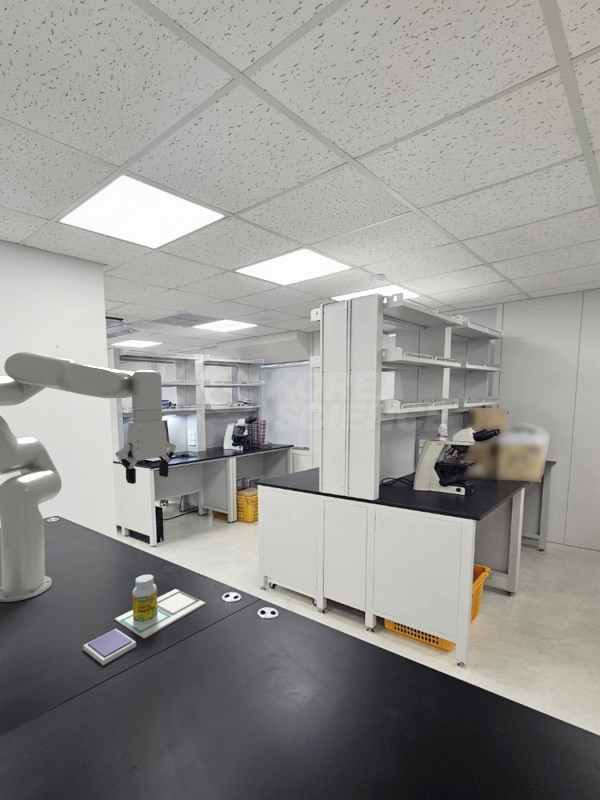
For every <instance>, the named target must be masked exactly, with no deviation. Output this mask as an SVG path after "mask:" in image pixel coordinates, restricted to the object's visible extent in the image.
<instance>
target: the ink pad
mask: <svg viewBox="0 0 600 800" xmlns="http://www.w3.org/2000/svg"><path fill="white" fill-rule="evenodd" d="M136 647H137V642H136V641H135V639H132V638H131V637H129V635H126V633H123V632H122V631H121V630H119V629H117V628H114V629H112V630H111V631H109V632H106V633H104V634H103V635H101V636H98V637H97V638H94V639H92V640H91V641H89V642H87V643H85V644H83V651H85V653H87V654H88V655H89V656H91V657H92V658H93V659H95V660H96V661H97V662H98V663H100V665H102V666H104V665H106V664H108V663H111V662H112V661H113V660H115V659H117V658H118V657H120V656H122V655H124V654H125V653H128V652H130V651H131V650H133V649H134V648H136Z"/></svg>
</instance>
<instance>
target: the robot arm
mask: <svg viewBox="0 0 600 800" xmlns="http://www.w3.org/2000/svg"><path fill="white" fill-rule="evenodd" d="M3 366H4V367H3V368H4V371H5V374H6V375H0V407H1V406H2V407H6V406H17V405H19V404H22V403H24V402H26V401H29V399H30V398H33V397H34V396H36V395H37V394H38V393H41V392H42V391H43V390H45V389H46V388H47V389H53V390H58V391H64V392H69V393H73V394H77V395H84V396H89V397H95V398H101V399H128V398H131V415H132V416H131V417H132V418H131V421H129V423H128V426H127V431H126V438H125V446H124V447H122V448H120V449H118V451H116V452H115V457H116V459H117V460H118V462H119V464H121V466H123V467H124V468H125V480H126V482H127V483H128V484H133V485H134V484H136V483H137V478H136V477H137V475H136V474H137V470H136V467H135V466H136V464H137V463H138V461H143V460H149V459H156V458H158V459H159V460H160V461H159V462H158V466H159V467H158V469H159V470H158V471H159V473H158V475H159V476H160V477H164V478H168V477H169V463H170V462H171V459H172V458H173V457H174V453H175V450H176V448H177V445H175V444H174V443H171V442H170V441H168V437H167V436H168V435H167V429H166V425H165V424H166V423H165V421H164V420H163V417H165V416H166V411H163V399H162V398H163V393H162V391H163V390H162V388H163V387H162V385H163V383H162V374H161V373H160V372H159V371H156V370H136V371H129V370H121V369H113V368H112V369H111V368H106V367H105V368H104V367H97V366H92V365H86V364H80V363H78V362H77V363H76V362H75V360H72V359H69V358H68V359H67V358H62V357H56V356H49V355H46V354H41V353H40V354H39V353H33V352H25V351H24V352H22V351H20V352H16V353H14V354H11V355H10V356H8V358H6V360H5V361H4V365H3ZM17 472H20V473H19V474H18V475H14V476H12V477H9V478H8V479H6V480H4V482H2V483H1V484H0V543H1V586H0V602H3V603H5V602H6V603H7V602H8V603H10V602H13V603H14V602H18V601H23V600H24V601H25V600H27V599H30V598H34V597H36V596H38V595H41V594H42V593H44V592H45V591H47V590H48V589H49V588H50V587H51V585H52V584H53V583H52V581H53V580H52V578H51V577H50V576H47V575H46V573H45V569H46V568H45V567H46V566H45V562H46V561H45V525H44V523H45V522H44V518H43V517H44V516H42V513H41V511H40V508H39V505H41V504H43V503H46V502H48V501H50V500H52V499H54V498H55V497H57V496H58V494H59V493H60V491H61V489H62V477H61V475H60V473H59V471H58V469H57V468H56V466H55V463H54V461H53V459H52V458H51V456H50V454H49V452H48V451H47V449H46V447H45V445H44V444H43V443H42V442H41V441H40V440H38V439H37V438H35V437H32V436H25V435H24V436H18V437H17V436H15V435H14V434H13V432H12V429H11V428H10V426H9V424H8V422H7V421H6V420H5V419H4V418H3V416H1V415H0V476H1V475H3V476H4V475H8V474H13V473H17Z"/></svg>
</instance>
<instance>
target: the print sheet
mask: <svg viewBox="0 0 600 800" xmlns="http://www.w3.org/2000/svg"><path fill="white" fill-rule="evenodd" d="M204 605H206V602H205V601H202V600H201V599H198V598H197V597H194V596H192V595H189V594H188V593H185V592H184V591H181V590H179V589H177V588H174V589H172V590H171V591H169V592H166V593H164V594H162V595H160V596H157V617H156V618H155V619H154V620H153V621H151V622H149V623H146V624H137V623H135V622H134V620H133V609H132V610H129V611H127V612H125V613H124V614H123V613H122V614H121V615H119V616H117V617H115V618H114V621H116V622H118V623H119V624H120V625H122V626H123V627H126V628H127V629H128V630H129V631H131V632H133V633H134V634H136V635H138V636H140V637H141V638H142V639H146V638H148V637H150V636H151V635H153V634H155V633H157V632H158V631H161V630H162V629H164V628H166V627H167V626H169V625H170V624H173V623H174V622H176V621H178V620H180V619H181V618H183V617H185V616H186V615H189V614H190V613H192V612H194V611H196V610H197V609H199V608H201V607H203V606H204Z"/></svg>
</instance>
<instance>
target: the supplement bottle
mask: <svg viewBox="0 0 600 800" xmlns="http://www.w3.org/2000/svg"><path fill="white" fill-rule="evenodd" d="M154 581H155V579H154V575H152V574H143V575H140V576H138V577H136V578H135V581H134V582H135V583H134V584H135V586H134V588H133V589H132V610H133V620H134V622H135V623H137V624H146V623H149V622H151V621H153V620H154V619H155V618H156V617H157V598H158V588H157V585H156V584H155V583H154Z"/></svg>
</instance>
